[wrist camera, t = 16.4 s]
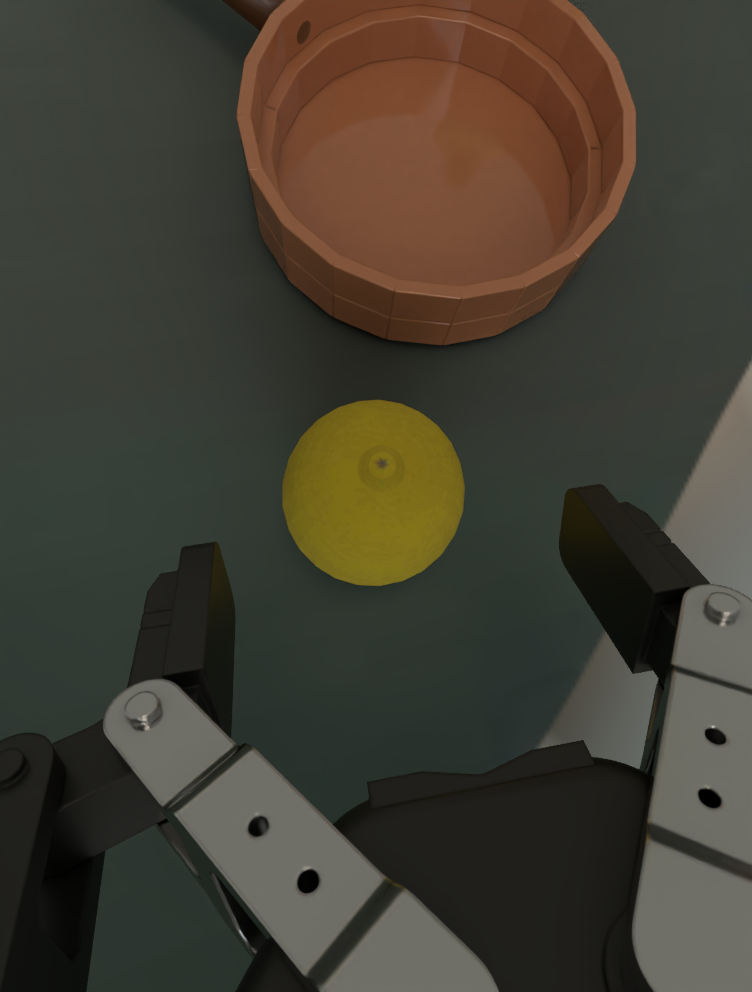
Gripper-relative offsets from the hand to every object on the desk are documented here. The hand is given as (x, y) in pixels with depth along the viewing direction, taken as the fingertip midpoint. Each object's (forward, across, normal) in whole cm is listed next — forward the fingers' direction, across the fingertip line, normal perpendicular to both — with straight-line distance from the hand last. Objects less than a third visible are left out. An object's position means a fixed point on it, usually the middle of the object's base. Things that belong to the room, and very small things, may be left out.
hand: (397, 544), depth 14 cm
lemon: (+8, 0, +5) cm, 9 cm away
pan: (+17, -5, -5) cm, 18 cm away
